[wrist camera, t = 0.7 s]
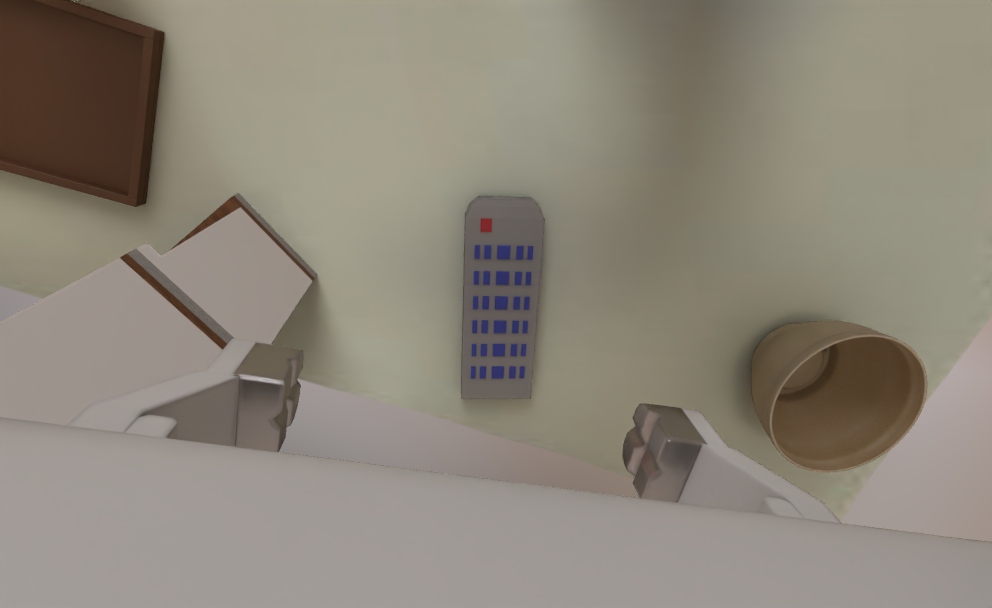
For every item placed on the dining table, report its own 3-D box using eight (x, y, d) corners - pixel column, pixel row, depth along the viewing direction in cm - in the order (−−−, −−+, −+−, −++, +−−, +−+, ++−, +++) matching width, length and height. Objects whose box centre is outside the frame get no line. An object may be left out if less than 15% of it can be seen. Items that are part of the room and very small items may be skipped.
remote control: (460, 390, 64) (460, 400, 62) (465, 194, 56) (466, 199, 53) (528, 390, 65) (531, 400, 63) (544, 197, 56) (547, 201, 54)
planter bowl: (798, 267, 62) (867, 303, 52) (880, 347, 66) (957, 394, 56) (693, 369, 65) (739, 421, 55) (778, 437, 70) (833, 497, 60)
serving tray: (-39, -36, 45) (-58, -41, 43) (164, 32, 48) (154, 30, 46) (-38, 152, 50) (-55, 154, 49) (145, 203, 53) (136, 207, 52)
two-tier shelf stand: (238, 193, 54) (-78, 363, 21) (317, 274, 57) (150, 525, 25) (156, 264, 55) (-249, 520, 23) (237, 338, 59) (-14, 649, 27)
